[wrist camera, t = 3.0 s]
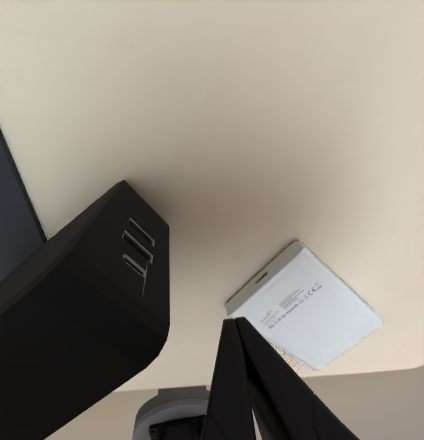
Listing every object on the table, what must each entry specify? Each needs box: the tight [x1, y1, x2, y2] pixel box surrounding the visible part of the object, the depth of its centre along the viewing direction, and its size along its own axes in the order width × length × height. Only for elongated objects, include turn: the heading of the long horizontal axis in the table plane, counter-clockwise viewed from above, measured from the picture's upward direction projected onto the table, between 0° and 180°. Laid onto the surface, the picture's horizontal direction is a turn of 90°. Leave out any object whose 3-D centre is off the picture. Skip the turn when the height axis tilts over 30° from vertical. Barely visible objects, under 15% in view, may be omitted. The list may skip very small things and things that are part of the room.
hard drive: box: [225, 240, 383, 371], centre depth 20 cm, size 2×8×12 cm
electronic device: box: [0, 180, 170, 440], centre depth 11 cm, size 4×10×10 cm, turn 127°
